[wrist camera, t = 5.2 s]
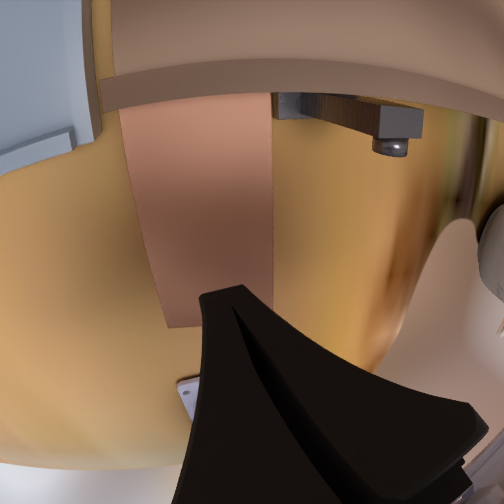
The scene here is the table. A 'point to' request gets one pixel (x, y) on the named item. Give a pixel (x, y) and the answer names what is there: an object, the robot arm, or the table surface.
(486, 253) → the teacup
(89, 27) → the bin
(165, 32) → the lever
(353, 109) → the lever stand
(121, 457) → the table surface
